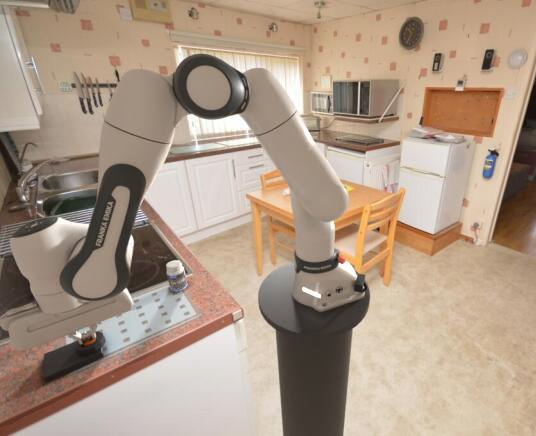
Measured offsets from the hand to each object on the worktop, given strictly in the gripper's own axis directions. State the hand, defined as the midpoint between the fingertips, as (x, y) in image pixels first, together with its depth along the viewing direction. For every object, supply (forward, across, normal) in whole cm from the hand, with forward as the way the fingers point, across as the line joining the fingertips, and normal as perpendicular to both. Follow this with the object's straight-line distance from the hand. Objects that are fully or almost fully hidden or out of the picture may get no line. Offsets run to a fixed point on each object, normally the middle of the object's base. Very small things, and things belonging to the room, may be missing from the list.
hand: (88, 339), depth 66 cm
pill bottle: (+3, +22, +11) cm, 25 cm away
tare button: (+2, 0, 0) cm, 2 cm away
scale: (+3, -3, 0) cm, 5 cm away
